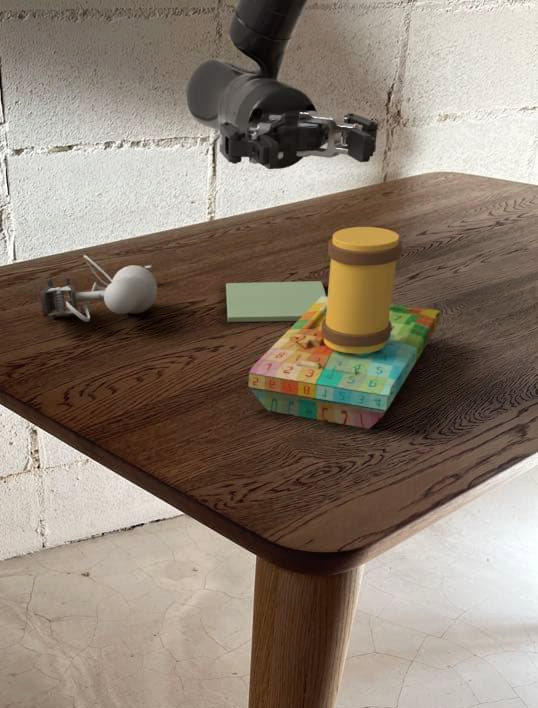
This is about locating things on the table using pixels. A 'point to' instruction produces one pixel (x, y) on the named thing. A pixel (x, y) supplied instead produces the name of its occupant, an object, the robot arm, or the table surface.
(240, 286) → the green mat
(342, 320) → the stacking piece
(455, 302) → the table surface
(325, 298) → the puzzle game
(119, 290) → the clip-on lamp
